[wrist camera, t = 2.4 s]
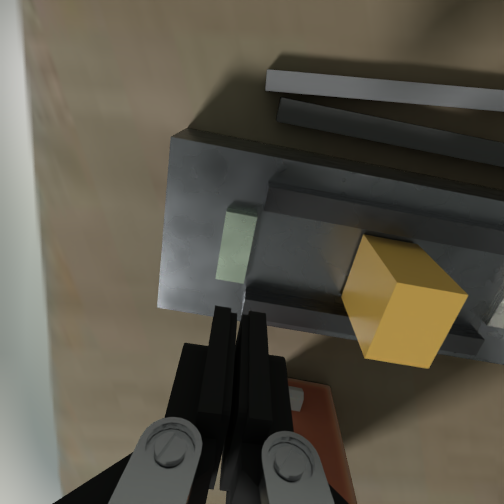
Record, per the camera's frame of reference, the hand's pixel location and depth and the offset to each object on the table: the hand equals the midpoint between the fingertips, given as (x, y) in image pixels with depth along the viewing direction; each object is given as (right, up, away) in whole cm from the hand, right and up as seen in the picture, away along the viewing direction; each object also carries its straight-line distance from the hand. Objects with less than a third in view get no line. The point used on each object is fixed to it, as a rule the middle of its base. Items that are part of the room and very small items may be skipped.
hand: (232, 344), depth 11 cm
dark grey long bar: (+10, +10, +9) cm, 16 cm away
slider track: (+8, +4, +12) cm, 14 cm away
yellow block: (+8, +2, +8) cm, 11 cm away
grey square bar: (+8, +12, +8) cm, 16 cm away
